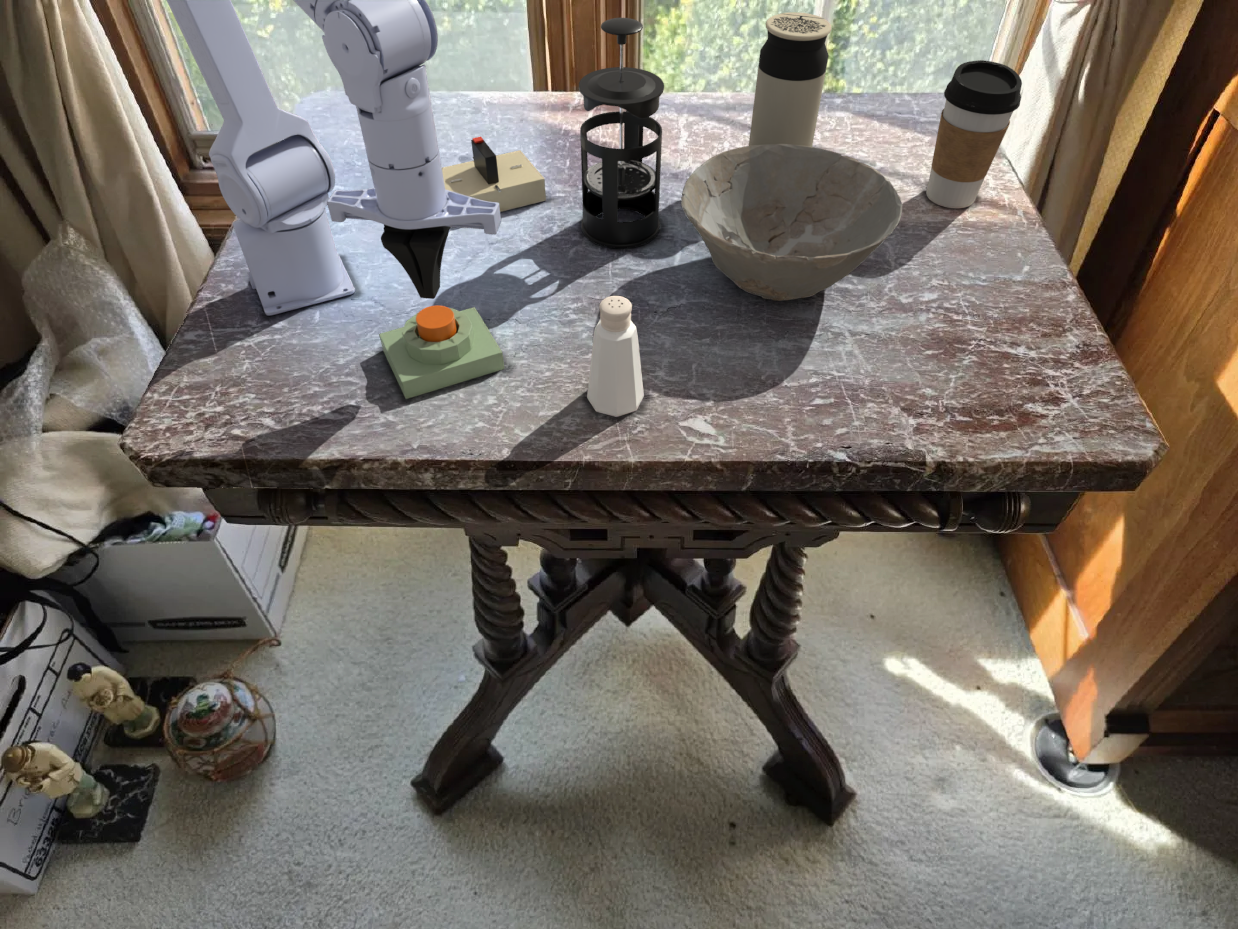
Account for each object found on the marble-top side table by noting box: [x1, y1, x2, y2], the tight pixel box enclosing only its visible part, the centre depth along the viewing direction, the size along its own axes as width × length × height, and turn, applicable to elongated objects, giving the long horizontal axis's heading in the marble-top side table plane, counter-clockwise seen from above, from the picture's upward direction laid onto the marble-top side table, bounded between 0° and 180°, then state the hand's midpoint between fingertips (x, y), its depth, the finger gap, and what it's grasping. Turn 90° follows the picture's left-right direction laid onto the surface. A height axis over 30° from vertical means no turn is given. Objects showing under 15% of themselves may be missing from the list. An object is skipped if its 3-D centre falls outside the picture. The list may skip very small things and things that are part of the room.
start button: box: [416, 304, 456, 342], centre depth 81 cm, size 4×4×2 cm
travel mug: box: [748, 11, 832, 147], centre depth 104 cm, size 8×8×18 cm
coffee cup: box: [925, 59, 1023, 209], centre depth 101 cm, size 8×8×15 cm
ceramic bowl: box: [680, 144, 903, 302], centre depth 91 cm, size 22×23×10 cm
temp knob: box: [470, 136, 499, 184], centre depth 102 cm, size 5×1×4 cm, turn 26°
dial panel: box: [442, 149, 547, 213], centre depth 105 cm, size 12×9×3 cm
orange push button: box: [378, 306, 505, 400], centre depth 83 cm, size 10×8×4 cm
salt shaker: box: [586, 295, 645, 418], centre depth 77 cm, size 5×5×11 cm
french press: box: [578, 17, 665, 250], centre depth 93 cm, size 12×9×23 cm
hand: (430, 291), depth 78 cm, fingers closed
